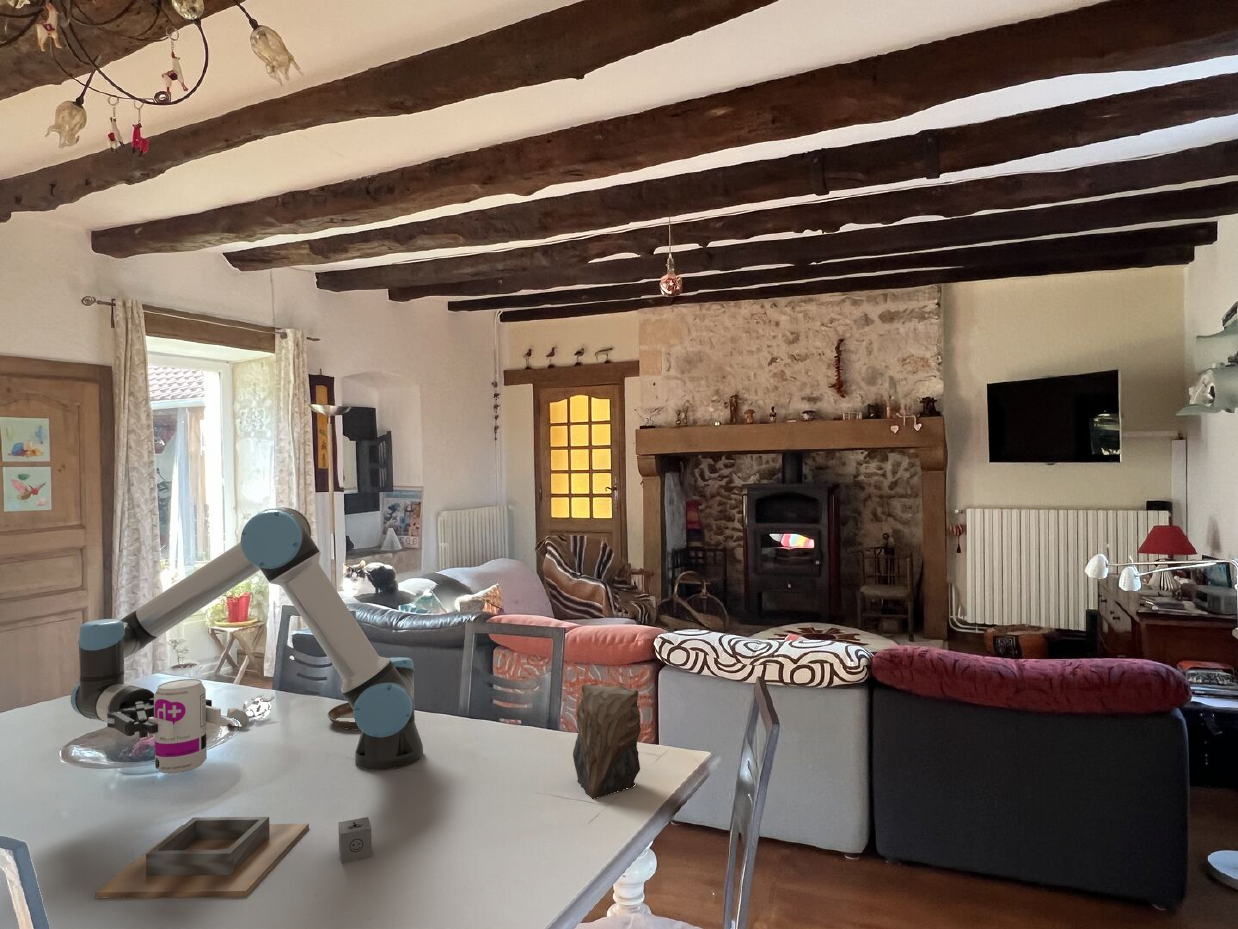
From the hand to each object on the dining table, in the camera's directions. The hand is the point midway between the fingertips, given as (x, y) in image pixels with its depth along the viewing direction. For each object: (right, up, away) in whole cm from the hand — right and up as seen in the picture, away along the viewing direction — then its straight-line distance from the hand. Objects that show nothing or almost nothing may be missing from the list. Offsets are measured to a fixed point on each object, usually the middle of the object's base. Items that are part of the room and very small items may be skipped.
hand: (195, 723), depth 143 cm
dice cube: (+30, -21, -4) cm, 37 cm away
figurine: (-24, -24, +73) cm, 80 cm away
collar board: (+6, -22, -6) cm, 24 cm away
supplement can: (-4, -9, +2) cm, 10 cm away
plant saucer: (+8, -23, +72) cm, 76 cm away
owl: (+72, -21, +23) cm, 79 cm away
